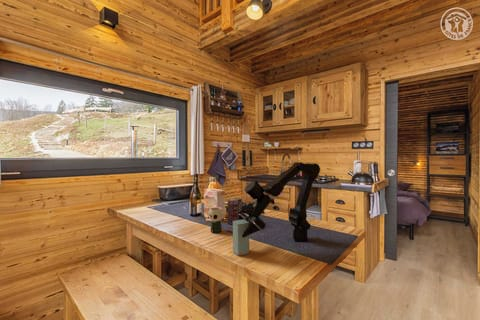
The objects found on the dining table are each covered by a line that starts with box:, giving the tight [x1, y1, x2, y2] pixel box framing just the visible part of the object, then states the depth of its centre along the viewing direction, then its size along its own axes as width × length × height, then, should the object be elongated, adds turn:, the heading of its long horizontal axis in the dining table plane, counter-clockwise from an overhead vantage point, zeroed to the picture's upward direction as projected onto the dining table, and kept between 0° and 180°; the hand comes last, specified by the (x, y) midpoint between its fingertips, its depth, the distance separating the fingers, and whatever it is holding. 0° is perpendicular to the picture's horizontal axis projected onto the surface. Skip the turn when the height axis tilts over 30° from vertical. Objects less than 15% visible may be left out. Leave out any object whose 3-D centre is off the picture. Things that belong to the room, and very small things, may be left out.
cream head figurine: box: [208, 207, 225, 234], centre depth 125 cm, size 11×7×13 cm, turn 61°
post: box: [233, 250, 250, 256], centre depth 99 cm, size 6×6×4 cm
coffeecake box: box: [203, 187, 226, 218], centre depth 152 cm, size 15×7×20 cm, turn 45°
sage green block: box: [232, 219, 250, 256], centre depth 99 cm, size 5×5×13 cm
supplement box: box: [227, 197, 243, 228], centre depth 136 cm, size 9×5×16 cm, turn 143°
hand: (238, 233), depth 98 cm, fingers open, 9 cm apart
